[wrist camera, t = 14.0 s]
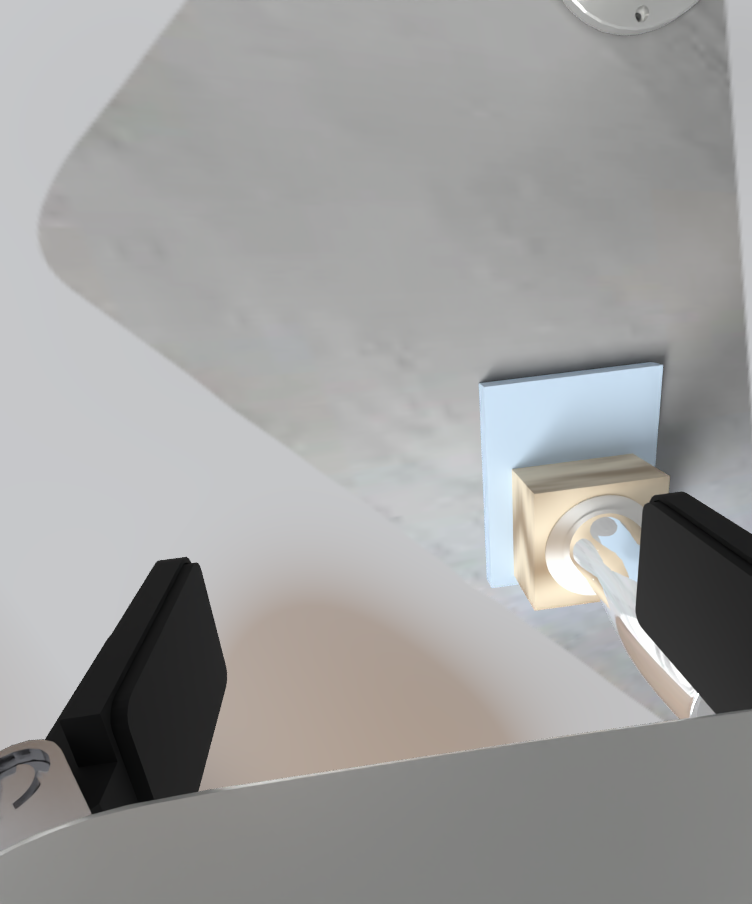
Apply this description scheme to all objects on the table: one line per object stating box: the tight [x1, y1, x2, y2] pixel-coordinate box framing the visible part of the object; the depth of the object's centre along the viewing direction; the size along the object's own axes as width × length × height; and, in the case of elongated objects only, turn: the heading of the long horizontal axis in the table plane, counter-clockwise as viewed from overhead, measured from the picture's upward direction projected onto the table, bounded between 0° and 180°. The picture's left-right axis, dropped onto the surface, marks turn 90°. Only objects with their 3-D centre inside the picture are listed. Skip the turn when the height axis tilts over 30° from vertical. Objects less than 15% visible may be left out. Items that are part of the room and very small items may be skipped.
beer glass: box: [563, 509, 715, 719], centre depth 31 cm, size 7×7×15 cm
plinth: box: [512, 453, 670, 611], centre depth 41 cm, size 10×10×5 cm
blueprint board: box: [479, 362, 663, 588], centre depth 43 cm, size 18×14×2 cm
